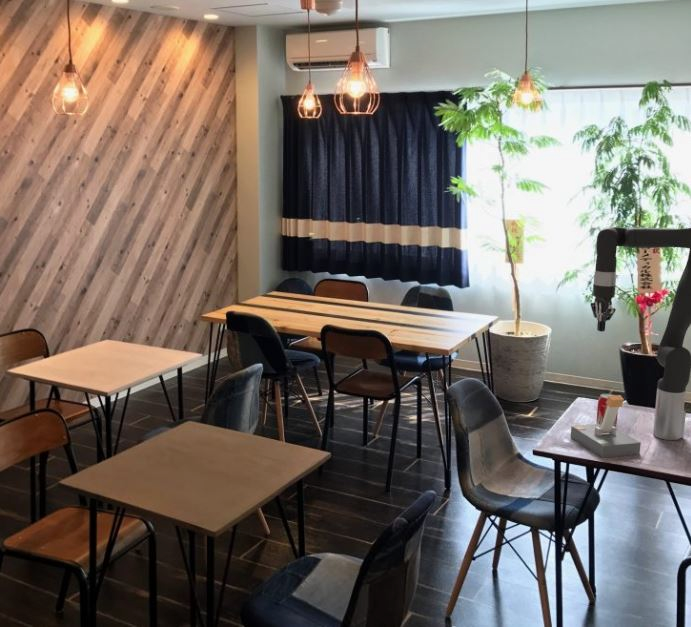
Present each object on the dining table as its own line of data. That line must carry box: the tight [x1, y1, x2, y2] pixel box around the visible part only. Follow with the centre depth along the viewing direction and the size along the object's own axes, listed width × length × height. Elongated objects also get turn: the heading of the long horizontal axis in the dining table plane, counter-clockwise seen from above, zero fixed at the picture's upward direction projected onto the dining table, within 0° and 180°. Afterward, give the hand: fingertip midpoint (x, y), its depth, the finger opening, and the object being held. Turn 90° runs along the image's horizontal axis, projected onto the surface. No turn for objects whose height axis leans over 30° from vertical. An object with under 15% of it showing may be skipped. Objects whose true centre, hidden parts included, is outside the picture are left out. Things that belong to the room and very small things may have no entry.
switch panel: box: [570, 423, 642, 458], centre depth 274 cm, size 14×20×6 cm
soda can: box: [596, 393, 619, 428], centre depth 292 cm, size 7×7×12 cm
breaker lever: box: [600, 394, 625, 433], centre depth 271 cm, size 4×2×15 cm, turn 105°
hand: (600, 330), depth 290 cm, fingers closed
